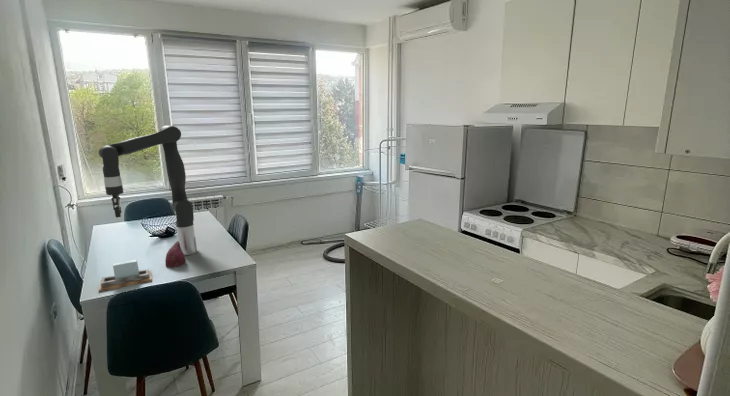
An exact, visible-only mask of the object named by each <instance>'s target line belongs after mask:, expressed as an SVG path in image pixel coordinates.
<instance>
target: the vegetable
mask: <svg viewBox="0 0 730 396" xmlns="http://www.w3.org/2000/svg"><path fill="white" fill-rule="evenodd" d="M165 255H166V256H165V262H164V263H165V267H167V268H171V269H172V268H179V267H181V266H184V265H185V264H186V262H187V261H186V257H185V255H184V254H183V252H182V250H181V247H180V243H179V241H178V240H177V241H176V242H174V244H172V246H171V247H170V248H169V249H168V251H166V254H165Z"/></svg>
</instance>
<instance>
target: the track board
mask: <svg viewBox="0 0 730 396" xmlns="http://www.w3.org/2000/svg"><path fill="white" fill-rule="evenodd" d="M149 282H153V276H152V270H149V268H146V269H141V270H139V275H136V276H131V277H126V278H121V279H116V280H115V275H110V276H105V277H101V280H100V282H99V285H98V286H99V287H98V292H99V291H102V292H106V290H107V291H111V289H112V290H116V289H120V288H126V287H129V286H135V285H140V284H145V283H149Z"/></svg>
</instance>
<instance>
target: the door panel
mask: <svg viewBox="0 0 730 396" xmlns="http://www.w3.org/2000/svg"><path fill="white" fill-rule="evenodd" d="M112 267H113V274H114V275H115V280H116V279H121V278H126V277H131V276H136V275H139V271H140V270H139V263H138V259H131V260H126V261H121V262H114V263H113V264H112ZM114 275H113V276H114Z"/></svg>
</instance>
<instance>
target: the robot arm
mask: <svg viewBox="0 0 730 396" xmlns="http://www.w3.org/2000/svg"><path fill="white" fill-rule="evenodd" d="M181 137H182V131H181V130H180V129H179V128H178V127H177V126H175V125H163V126H161V127H160V129H159V131H157V132H154V133H151V134H148V135H147V134H145V135H140V136H137V137H133V138H129V139H126V140H123V141H120V142H115V143H111V144H107V145H103V146H101V147H100V148H99V150H98V155H99V157H100V158H101V159H102V165H103V166H102V173H103V182H104V189H105V194H106V196H111V199H110V201H111V204H112V208H113V209H112V210H113V211H114V216H115V218H120V217H122V215H121V214H122V207H121V206H122V199H121V196H120V195H122V194H124V187H123V181H122V180H123V179H122V177H121V170H120V167H119V165H120V161H119V159H120V158H119V157H120V156H123V155H125V156H126V155H129V154H134V153H136V152H140V151H142V150H146V149H148V148H153V147H155V146H158V145H162V149H163V153H164V160H165V167H166V174H167V178H168V183H169V186H170V191H171V196H172V197H171V198H172V201H171V202H172V209H173V211H174V212H175V218H176V222H175V227H176V233H177V241H179V243H180V247H181V250H182V252H183V254H184V256H191V255H193V254H196V253H198V247H197V246H198V245H197V238H196V233H195V226H194V225H195V224H194V221H195V218H194V217H195V215H194V208H193V207H194V206H193V204H192V203H191V201H189V199H188V197H187V193H186V178H187V177H186V175H187V174H186V170H185V165H184V162H183V159H182V157H181V155H180V152H179V150H178V144H177V143H178V141H179V140H180V139H181Z"/></svg>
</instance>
